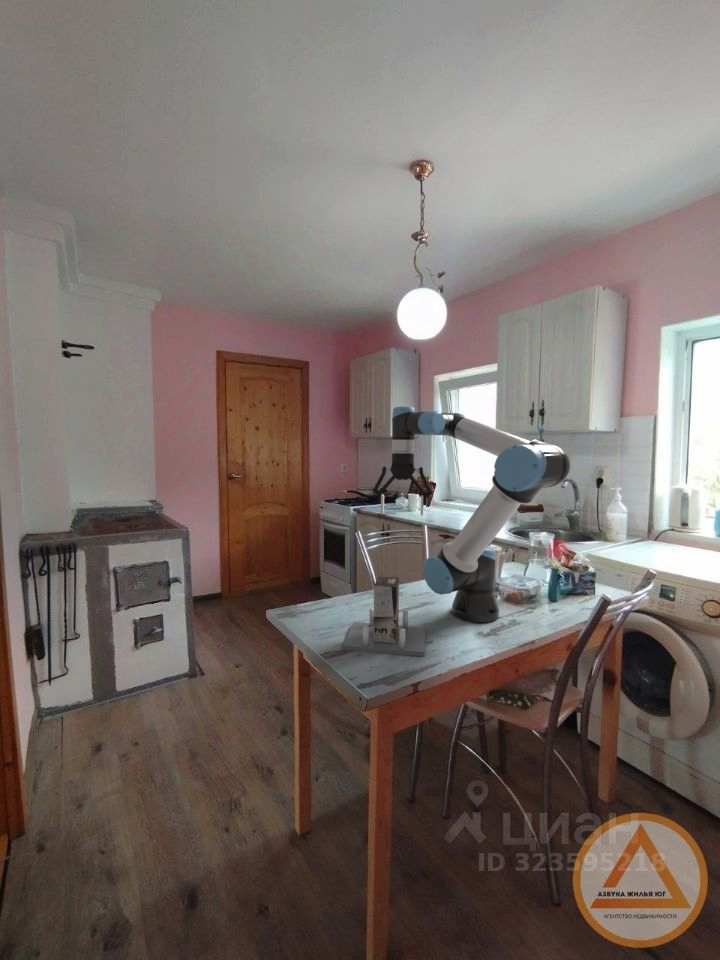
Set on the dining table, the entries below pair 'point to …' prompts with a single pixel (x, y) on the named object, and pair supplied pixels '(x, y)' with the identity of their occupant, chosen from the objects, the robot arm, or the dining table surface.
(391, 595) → the coffee box
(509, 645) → the dining table surface
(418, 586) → the dining table surface
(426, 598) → the dining table surface
